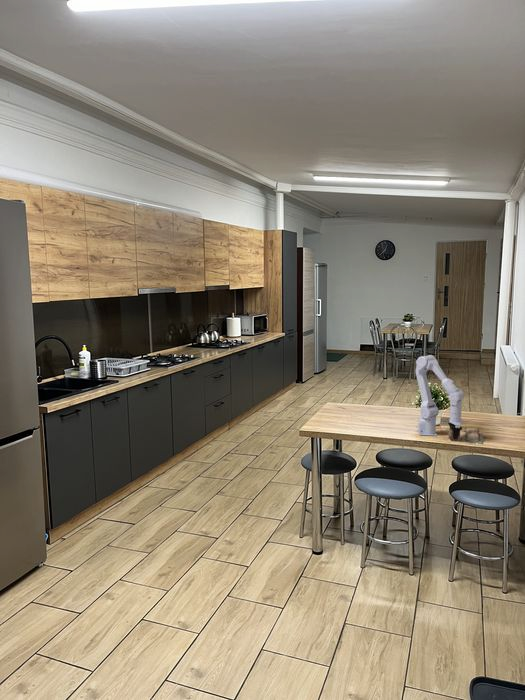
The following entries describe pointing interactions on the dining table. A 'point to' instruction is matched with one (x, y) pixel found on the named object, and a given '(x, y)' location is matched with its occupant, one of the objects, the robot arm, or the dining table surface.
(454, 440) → the walnut cube
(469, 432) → the packaged product
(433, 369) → the robot arm
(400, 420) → the dining table surface
